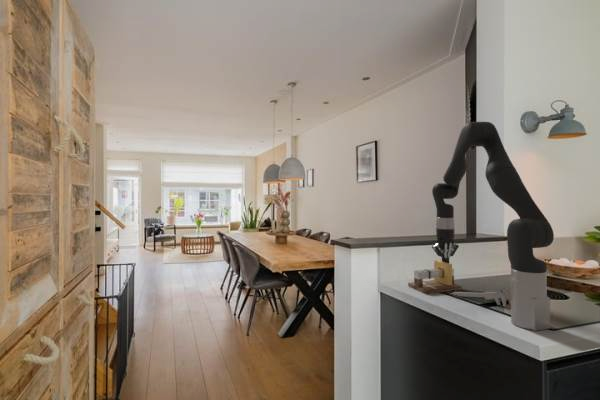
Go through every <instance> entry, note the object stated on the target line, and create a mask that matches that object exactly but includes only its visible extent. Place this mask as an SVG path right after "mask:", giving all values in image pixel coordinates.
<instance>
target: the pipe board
mask: <svg viewBox="0 0 600 400" xmlns="http://www.w3.org/2000/svg"><path fill="white" fill-rule="evenodd" d="M413 278H414V277H413ZM423 280H424V279H416V278H414V279H413V282H408V283H407V285H408V287H409V288H411V289H413V290H415V291H418V292H420V293H422V294H424V295H426V294H427V295H428V294H434V293H444V291H447V292H453V291H452V290H455V291H462V290H463V289H462V285H459V284H457V283H455V275H454V276H452V285H449V286H448V285H445V284H443V283H440V282H437V281H435V280H424V281H423Z"/></svg>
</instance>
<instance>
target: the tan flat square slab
mask: <svg viewBox="0 0 600 400" xmlns="http://www.w3.org/2000/svg"><path fill="white" fill-rule="evenodd" d="M433 263H434V264H433V265H434V266H433V269H440V268H442V269H444V277H438V278H433V279H434V280H435V281H437V282H440V283H443V284H445V285H448V286H449V285H452V269H453V264H452V263H450V262H449V263H446V262H442V260H439V259H438V260H437V259H436V260H434V262H433Z"/></svg>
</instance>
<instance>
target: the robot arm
mask: <svg viewBox="0 0 600 400" xmlns="http://www.w3.org/2000/svg"><path fill="white" fill-rule="evenodd" d="M471 147H482V148H483V149H484V150H485V153H487V158H488V161H487V165H486V168H485V173H484V174H485V178H486V181H487V184H489V187H490V189H491V191H492V192H493V193H494V195H495V196H496V197H498V199H500V201H502V202H504V203H505V204H507V206H509V207H510V208H511V209H512V210H513V211H514V212H515V213H516V214H517V216H518V218H517V219H512V220H511V221H510V222H509V223H508V226H507V230H506V238H507V239H506V240H507V241H506V242H507V244H506V245H507V254H508V259H509V260H508V261H509V263H510V317H511V319H510V322H511V323H512V324H513V325H515V326H517V327H520V328H523V329H528V330H532V331H534V332H536V331H542V330H543V331H544V330H549V329H551V297H549V296H548V295H547V294H548V292H547V285H548V284H547V281H548V280H547V279H548V278H547V275H548V273H547V269H548V267H547V263H546V261H544V260H541V259H538V258H537V257H535V255H534V249H540V248H541V249H542V248H547V247H550V245H552V243H553V242H554V238H555V237H554V236H555V235H554V230H553V228H552V225H551V222H549V221H548V219H547V217H546V216H545V215H544V214H543V212H542V210H540V207H538V205H537V204H536V202H535V201H534V200H533V198H532V196H531V194H530V193H529V191H528V190H527V188H526V186H525V184H524V183H523V180H522V178H521V177H520V175H519V172H518V171H517V168H516V167H515V165H514V164H513V162H512V160H511V159H510V157H509V155H508V153H507V151H506V149H505V146H504V144H503V142H502V140H501V137H500V135H499V132H498V130H497V128H496V125H494V124H493V123H492V122H490V121H469V122H467V123H465V124H464V125H463V127H462V128H461V130H460V133H459V136H458V139H457V142H456V145H455V148H454V152H453V155H452V159H451V161H450V163H449V165H448V167H447V169H446V171H445V173H444V174H443V176H442V177H443V178H442V180H443V181H444V182H441V183H436V184H434V185H433V187H432V189H431V190H432V197H433V201H434V204H435V208H436V221H435V222H436V225H435V226H436V227H435V228H436V229H435V234H436V242H435V245H431V248H432V249H433V251H434V252H435V253H436V256H438V257H441V261H442V262H446V263H449V264H450V258H451V257H454V256H455V253H456V252H457V250H459V247H460V245H458V244H456V243H455V218H454V216H455V215H454V214H455V213H454V212H455V211H454V205H452V204H450V203H446V202H445V200H449V199H450V200H453V199H454V198H456V197H457V196H458V195H459V188H460V184H461V182H462V180H463V177H464V176H465V174H466V172H467V170H468V162H467V157H466V156H467V153H468V150H469V149H470V148H471Z"/></svg>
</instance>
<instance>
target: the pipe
mask: <svg viewBox="0 0 600 400" xmlns="http://www.w3.org/2000/svg"><path fill="white" fill-rule="evenodd" d="M413 276H414V277H413V278H416V279H423V280H427V279H429V280H430V279H434V278H438V277H444V269H442V268H440V269H434V268H431V269H420V270H419V269H417V270H414V271H413ZM452 276H454V277H455V268H452Z"/></svg>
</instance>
